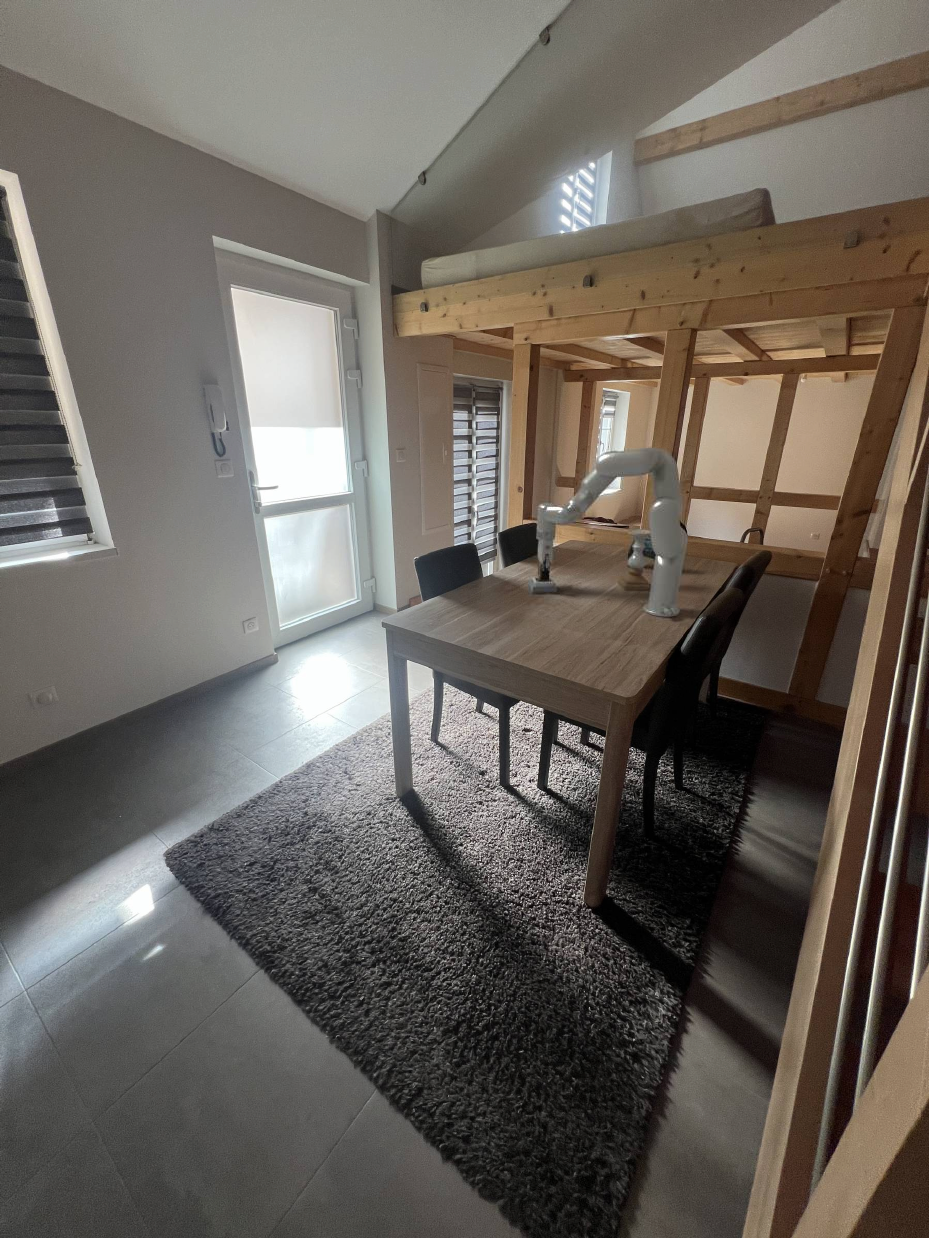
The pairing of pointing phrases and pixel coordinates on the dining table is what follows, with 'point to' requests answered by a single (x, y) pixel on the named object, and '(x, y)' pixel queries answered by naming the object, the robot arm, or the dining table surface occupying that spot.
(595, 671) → the dining table surface
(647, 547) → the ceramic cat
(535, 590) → the candle tray
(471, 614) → the dining table surface
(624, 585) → the candle holder
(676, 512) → the robot arm
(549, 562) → the brown tall boxy piece
